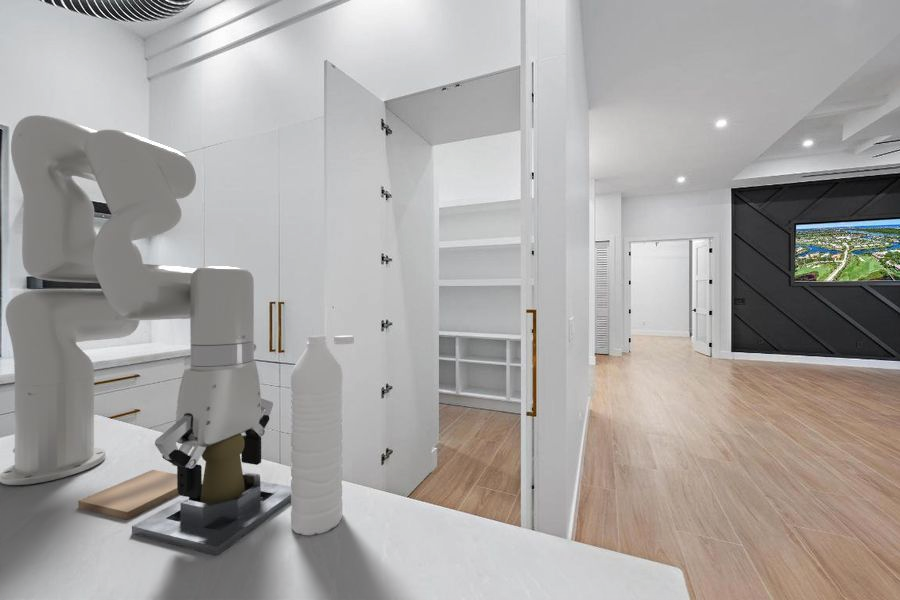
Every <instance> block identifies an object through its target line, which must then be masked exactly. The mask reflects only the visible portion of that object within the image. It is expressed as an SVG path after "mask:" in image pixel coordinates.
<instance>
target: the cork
mask: <svg viewBox="0 0 900 600" xmlns="http://www.w3.org/2000/svg"><path fill="white" fill-rule="evenodd" d="M243 436H244V435H243V434H242V433H240V434H238V435H235V436H233V437H230V438H228V439H226V440H223V441H221V442H218V443H216V444H213V445H211V446H207V447H206V449H205V450H204V452H203V454H202V455H201V458H202V460H203V461H205V464H204V465H205V466H204V472H203V479H202V481H203V484H202V493H201V498H200V502H201V503H206V504H208V503H212V502H217V501H221V500H226V499H230V498H235V497H237V496H238V495H240V494H242V493H243V492H245V485H244V479H243V472H244V471H243V466H242V461H241V453H242V451H243V449H244V444H245V442H244V438H243ZM242 471H243V472H242Z"/></svg>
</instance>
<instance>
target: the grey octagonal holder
mask: <svg viewBox="0 0 900 600" xmlns="http://www.w3.org/2000/svg"><path fill="white" fill-rule="evenodd" d="M242 472H243V479H244V485H245V492H243V493H242V494H240V495H238V496H237V497H235V498H230V499H226V500H221V501H217V502H212V503H208V504H206V503H201V502H200V498H201V495H200V496H199V497H197V498H191V497H186V496H181V500H179V501H177V502H175V503H173V504H171V505H169V506H167V507H166V508H163V509H161V510H160V511H158V512H156V513H154V514H152V515H150V516H148V517H147V518H144V519H142V520H140V521H139V522H137V523H134V525H132V526H131V534H132V535H134V536H139V537H142V538H146V539H150V540H154V541H159V542H161V543H167V544H169V545H174V546H177V547H180V548H181V547H182V548H185V549H190V550H192V551H196V552H200V553H204V554H209V555H212V556H216V557H218V556H219V555H220V554H222V553H223V552H225V550H227V549H229V548H230V547H231V546H232V545H234V544H236V543H237V542H238V541H239V540H241V539H242V538H243V537H244V536H246V535H248V534H249V533H251V531H252V530H254V529H255V528H257V527H258V526H260V525H261V524H262V523H263V522H265V521H267V519H269V518H270V517H271V516H273V515H274V514H275V513H277V512H278V511H279V510H281V509H282V508H283V507H285V506H286V505H288V504H289V503H291V493H292V490H291V485H283V484H278V483H271V482H267V481H261V474H260V473H254V472H249V471H243V470H242ZM202 484H203V480H202ZM261 499H264V501H261ZM179 519H180V521H177V520H179Z"/></svg>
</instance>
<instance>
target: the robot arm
mask: <svg viewBox="0 0 900 600" xmlns="http://www.w3.org/2000/svg"><path fill="white" fill-rule="evenodd" d="M10 152H11V153H10V154H11V160H12V165H13V167H14V171H15V174H16V177H17V179H18V182H19V185H20V188H21V192H22V196H23V212H22V215H23V216H22V234H21V235H22V240H21V241H22V242H21V244H22V245H21V256H22V259H21V260H22V265H23V268H24V269H25V271H26V273H27V274H28V275H29V276H31V277H33V278H36V279H38V280H43V281H51V282H52V281H53V282H64V283H65V282H66V283H67V282H69V283H88V284H89V283H92V284H99V287H100V288H101V290H96V289H95V290H94V289H71V288H70V289H67V288H66V289H65V288H62V289H61V288H47V289H46V288H45V289H34V290H29V291H25V292H21V293H19V294H17V295H16V296H14V297H13V298H12V299H10V300H9V302H8V303H7V305H6V309H5V321H6V327H7V329H8V330H7V331H8V333H9V337H10V342H11V347H12V351H13V362H14V448H13V450H12V452H13V454H14V465H11V466H9V467H7V468H6V469H4V470H3V471H1V473H0V483H1V484H3V485H7V486H26V485H33V484H39V483H46V482H50V481H55V480H59V479H63V478H67V477H69V476H73V475H76V474H79V473H82V472H85V471H87V470H89V469H91V468H93V467H96V466H97V465H99V464H100V463H102V462H104V460H105V459H106V450H105V449H102V448H98V447H95V369H94V368H95V367H94V364H93V362H92V359H91V358H90V356H88V355H87V353H85V352H84V351H83V350H82V349H81V348H80V347H79V346H78V345H77V343H80V342H81V343H82V342H89V341H102V340H111V339H120V338H125V337H128V336H130V335H132V334H134V333H135V332H136V330H137V328H138V326H139V325H140V321H156V320H157V321H161V320H177V319H178V320H179V319H181V320H187V319H188V320H190V326H189V327H190V329H189V330H190V333H189V334H190V338H189V339H190V368H187V369H184V371H183V373H182V376H181V381H180V386H179V390H178V395H177V403H176V412H175V423H174V424H173V425H172V426H170V427H169V428H168V429H167V430H166V431H165V432H163V434H161V435H160V436H158V438H156V440H155V441H154V445H155V447H156V448H157V450H158V451H159V453H160V454H161V456H162V458H163V460H165V461H167V462H169V463H170V464H171V465H172V466H175V467H177V468H176V469H177V471H176V474H177V489H178V494H177V495H179V496H181V497H183V496H186V497H191V498H197V497H199V496H200V495H201V493H202V481H203V479H202V476H203V475H202V473H203V472H202V470H203V468H202V467H203V466H202V465H201V464H198V462H199V460H200V459H201V458H202V454H203V452H204V450H205V449H206V447H207V446H211V445H213V444H216V443H218V442H221V441H223V440H226V439H228V438H230V437H233V436H235V435H238V434H240V433H241V434H242V433H244V434H245V435H242V436H243V438H244V442H245V444H244V449H243V451H242V453H241V454H240V459H241V463H243V464H248V465H256V466H258V465H259V464H261V463H262V437H263V436H264V435H265V433H266V429H265V428H266V427H267V424H268V423H269V422H270V415H271V412H272V409H273V407H274V402H272V401H271V400H268V399H264V398H262V396H261V385H260V377H259V372H258V371H259V370H258V366H257V363H256V361H254V359H255V357H254V356H255V355H254V353H255V351H257V345H256V344H255V343H254V339H255V338H254V337H255V335H254V334H255V332H254V330H255V328H254V327H255V325H254V323H255V322H254V321H255V320H254V319H255V317H254V315H255V314H254V310H255V309H254V308H255V307H254V302H255V301H254V299H255V297H254V295H255V294H254V292H255V291H254V290H255V289H254V275H253V274H252V273H251V272H250V271H249V270H248V269H245V268H242V267H241V268H240V267H235V266H234V267H233V266H201V267H198V268H193V267H192V268H191V267H183V266H172V265H163V264H162V265H161V264H149V263H144V262H143V261H144V260H143V256H142V253H141V251H140V249H139V247H138V246H137V245H136V243H134V241H138V240H141V239H146V238H150V237H154V236H155V237H156V236H158V235H161V234H165V233H166V232H169V231H170V230H172V229H173V228H175V227H176V226H177V225H178V223H179V222H180V220H181V218H182V208H181V206H180V204H179V202H178V200H181V199H184V198H186V197H188V196H190V194H192V192H193V191H194V189H195V187H196V184H197V183H196V182H197V174H196V170H195V168H194V165H193V163H192V162H191V160H189V158H188V157H187V156H185V154H183V153H182V152H180V151H178V150H176V149H174V148H171V147H168V146H166V145H163V144H160V143H157V142H155V141H152V140H149V139H147V138H145V137H141V136H139V135H136V134H133V133H131V132H126V131H123V130H118V129H101V130H95V129H92V128H89V127H87V126H84V125H81V124H78V123H75V122H71V121H69V120H65V119H61V118H58V117H53V116H47V115H38V114H37V115H35V114H34V115H29V116H25V117H24V118H22V119H20V120H19V121H18V122H17V124H16V125H15V127H14V129H13V132H12V135H11V141H10ZM73 177H79V178H82V179H86V180H90V181H93V182H96V183H97V185H98V188H99V190H100V192H101V194H102V196H103V199H104V201H105V203H106V206H107V207H108V210H109V212H110V214H111V217H110V218H108V219H107V220H106V221H105V222H104V223H103V225H102V226H101V228H99V231H98V232H97V231H96V230H95V225H94V224H95V222H94V220H95V207H94V204H93V201H92V200H91V198H90V197H89V196H88V194H87V192H86V191H85V190H84V188H83V187H82V186H81V185H80V184H79V182H77V180H76V179H74V178H73ZM177 444H181V445H180V447H179V448H178V445H177Z"/></svg>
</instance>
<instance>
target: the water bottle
mask: <svg viewBox="0 0 900 600" xmlns="http://www.w3.org/2000/svg"><path fill="white" fill-rule="evenodd" d="M354 340H355V336H354V335H351V334H349V335H335V336H333V344H334V345H350V344H351V345H352V344H355V341H354ZM306 344H307V347H306V348H305V350H304V351H303V353H302V354H301V355H300V357H299V358H298V360H297V361H296V363H295V364H294V366H293V368H292V371H291V375H290V389H291V392H290V395H291V396H290V397H291V399H290V401H291V402H290V403H291V406H290V407H291V412H290V414H291V415H290V416H291V419H290V420H291V421H290V422H291V424H290V428H291V432H290V445H291V452H290V461H291V466H290V475H291V480H290V487H291V490H292V493H291V501H290V505H291V508H290V525H291V526H290V527H291V529H292V530H293V532H294V533H296V534H298V535H299V534H301V535H303V536H314V535H320V534H325V533H326V532H328V531H330V530H331V529H333V528H335V527H336V526H337V525H338V524H339V523H340V522H341V519H342V517H343V498H342V497H343V467H342V464H343V456H342V455H343V442H342V440H343V424H342V423H343V418H342V417H343V406H342V405H343V400H342V399H343V394H342V393H343V388H342V387H343V371H342V370H343V369H342V367H341V364H340V362H339V361H338V359H337V358H336V357H335V355H334V354H333V353H332V352H331V350H330V348H329V347H328V341H327V336H326V335H323V334H322V335H320V334H319V335H308V338H307V342H306Z"/></svg>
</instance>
